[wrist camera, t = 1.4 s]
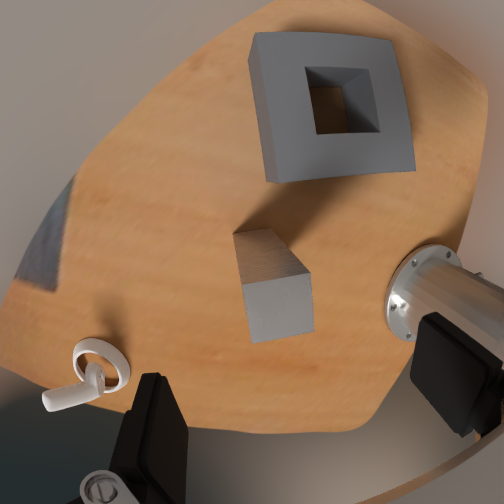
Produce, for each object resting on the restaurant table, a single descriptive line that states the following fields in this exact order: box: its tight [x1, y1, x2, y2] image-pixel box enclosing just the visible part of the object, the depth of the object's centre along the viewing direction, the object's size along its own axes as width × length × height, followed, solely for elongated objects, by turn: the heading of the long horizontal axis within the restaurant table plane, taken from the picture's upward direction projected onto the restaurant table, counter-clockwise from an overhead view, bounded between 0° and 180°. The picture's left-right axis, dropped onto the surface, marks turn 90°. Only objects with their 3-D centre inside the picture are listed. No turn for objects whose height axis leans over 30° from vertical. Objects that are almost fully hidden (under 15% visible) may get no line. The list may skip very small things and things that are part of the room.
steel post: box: [233, 228, 314, 344], centre depth 21 cm, size 4×4×13 cm
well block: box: [248, 32, 416, 183], centre depth 22 cm, size 12×12×6 cm
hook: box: [42, 338, 130, 412], centre depth 26 cm, size 8×12×7 cm
